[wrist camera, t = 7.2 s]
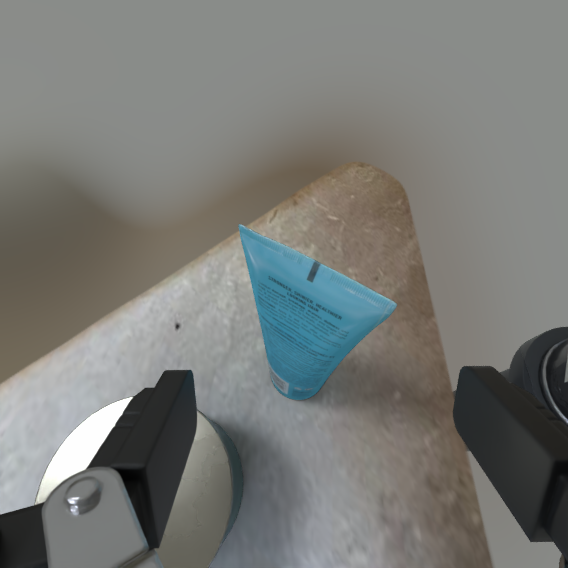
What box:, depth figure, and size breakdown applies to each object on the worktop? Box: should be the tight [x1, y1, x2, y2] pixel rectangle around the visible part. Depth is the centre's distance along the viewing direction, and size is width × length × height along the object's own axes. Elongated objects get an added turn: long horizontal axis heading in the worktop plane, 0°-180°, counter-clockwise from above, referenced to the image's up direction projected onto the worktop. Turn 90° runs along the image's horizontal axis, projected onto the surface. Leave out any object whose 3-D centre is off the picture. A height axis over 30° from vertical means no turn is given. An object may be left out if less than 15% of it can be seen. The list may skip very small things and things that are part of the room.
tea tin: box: [35, 396, 243, 568], centre depth 24 cm, size 11×11×8 cm
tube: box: [239, 224, 397, 400], centre depth 23 cm, size 7×5×19 cm, turn 64°
